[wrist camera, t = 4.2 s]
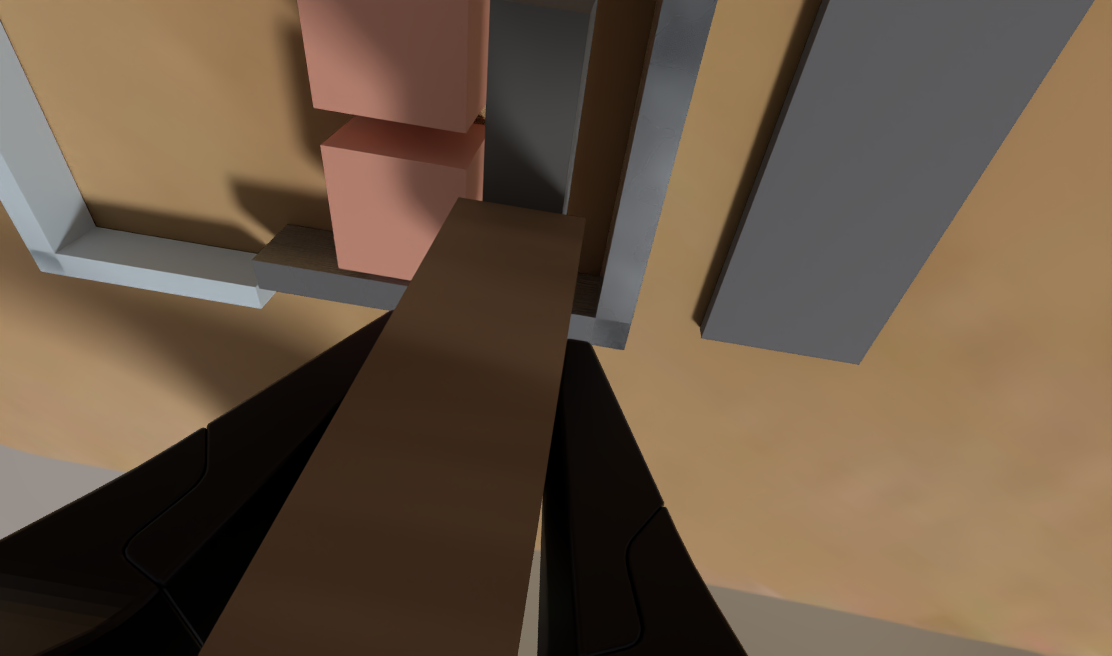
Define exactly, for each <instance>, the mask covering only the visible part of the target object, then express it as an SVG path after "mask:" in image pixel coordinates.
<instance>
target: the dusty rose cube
mask: <svg viewBox="0 0 1112 656" xmlns="http://www.w3.org/2000/svg"><path fill="white" fill-rule="evenodd" d="M297 3H298V9H299V16H300V22H301V29H302V35H303V42H304V48H305V55H306V62H307V68H308V75H309V81H310V88H311V94H312V101H313V107H314V108H318V109H323V110H329V111H335V112H341V113H347V114H353V115H359V116H365V117H371V118H377V119H383V120H389V121H395V122H401V123H407V124H412V125H418V126H424V127H430V128H436V129H442V130H448V131H454V132H460V133H467V131H468V130H469V128H470V127H471V125H472V124H473V122H474V121H475V119H476V118H477V116H478V115H479V113H480V112H481V110H482V109H483V107H484V106H485V104H486V92H487V66H488V40H489V13H490V0H297Z"/></svg>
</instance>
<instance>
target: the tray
mask: <svg viewBox="0 0 1112 656" xmlns="http://www.w3.org/2000/svg"><path fill="white" fill-rule="evenodd" d="M0 200H1V202H2V204H3V206H4V207H5V209H6V211H7V213H8V215H9V216H10V218H11V220H12V222H13V223H14V225H15V227H16V229H17V230H18V232H19V234H20V236H21V237H22V239H23V241H24V243H25V244H26V246H27V248H28V250H29V251H30V253H31V255H32V257H33V258H34V260H35V262H36V264H37V265H38V267H39V269H40V271H41V272H47V273H53V274H58V275H64V276H70V277H76V278H82V279H88V280H94V281H100V282H106V283H112V284H117V285H123V286H129V287H135V288H141V289H147V290H153V291H159V292H165V293H171V294H177V295H182V296H188V297H194V298H200V299H206V300H212V301H218V302H224V303H230V304H236V305H241V306H247V307H253V308H259V309H262V308H263V306H264V305H265V304H266V303H267V302H268V301H269V300H270V298H271V297H272V296H273V295H274V294H275V293H276V291H270V290H264V289H259V286H258V283H257V279H256V275H255V272H254V268H253V264H252V261H251V260H252V259H253V258H254V257H255V256H256V255H257V254H255V253H249V252H243V251H237V250H231V249H225V248H219V247H213V246H207V245H201V244H195V243H189V242H183V241H177V240H171V239H165V238H160V237H154V236H148V235H142V234H136V233H130V232H124V231H118V230H112V229H106V228H100V227H96V226H95V224H94V222H93V219H92V217H91V215H90V213H89V211H88V209H87V207H86V204H85V202H84V200H83V198H82V196H81V194H80V191H79V189H78V187H77V185H76V183H75V181H74V179H73V176H72V174H71V172H70V170H69V168H68V166H67V164H66V161H65V159H64V157H63V155H62V153H61V151H60V148H59V146H58V144H57V142H56V140H55V138H54V136H53V133H52V131H51V129H50V127H49V125H48V123H47V120H46V118H45V116H44V114H43V112H42V110H41V108H40V105H39V103H38V101H37V99H36V97H35V95H34V92H33V90H32V88H31V86H30V84H29V82H28V80H27V77H26V75H25V73H24V71H23V69H22V67H21V65H20V62H19V60H18V58H17V56H16V54H15V52H14V49H13V47H12V45H11V43H10V41H9V39H8V37H7V34H6V32H5V30H4V28H3V26H2V24H1V21H0Z"/></svg>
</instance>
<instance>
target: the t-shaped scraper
mask: <svg viewBox="0 0 1112 656" xmlns="http://www.w3.org/2000/svg"><path fill="white" fill-rule="evenodd" d="M597 3H598V0H490V13H489V40H488V66H487V92H486V118H485V144H484V171H483V197H482V201H479V200H473V199H467V198H461V197H458V199H457V201H456V202H455V204H454V206H453V208H452V209H451V211H450V213H449V215H448V216H447V218H446V220H445V222H444V223H443V225H442V227H441V229H440V230H439V232H438V234H437V236H436V237H435V239H434V241H433V243H432V244H431V246H430V248H429V250H428V252H427V253H426V255H425V257H424V259H423V260H422V262H421V264H420V266H419V267H418V269H417V271H416V273H415V274H414V276H413V278H412V280H411V281H410V283H409V285H408V287H407V288H406V290H405V292H404V294H403V295H402V297H401V299H400V301H399V302H398V304H397V306H396V308H395V310H394V311H393V313H392V315H391V317H390V318H389V320H388V322H387V324H386V325H385V327H384V329H383V331H382V332H381V334H380V336H379V338H378V339H377V341H376V343H375V345H374V346H373V348H372V350H371V352H370V353H369V355H368V357H367V359H366V361H365V362H364V364H363V366H362V368H361V369H360V371H359V373H358V375H357V376H356V378H355V380H354V382H353V383H352V385H351V387H350V389H349V390H348V392H347V394H346V396H345V397H344V399H343V401H342V403H341V404H340V406H339V408H338V410H337V412H336V413H335V415H334V417H333V419H332V420H331V422H330V424H329V426H328V427H327V429H326V431H325V433H324V434H323V436H322V438H321V440H320V441H319V443H318V445H317V447H316V448H315V450H314V452H313V454H312V455H311V457H310V459H309V461H308V462H307V464H306V466H305V468H304V470H303V471H302V473H301V475H300V477H299V478H298V480H297V482H296V484H295V485H294V487H293V489H292V491H291V492H290V494H289V496H288V498H287V499H286V501H285V503H284V505H283V506H282V508H281V510H280V512H279V513H278V515H277V517H276V519H275V521H274V522H273V524H272V526H271V528H270V529H269V531H268V533H267V535H266V536H265V538H264V540H263V542H262V543H261V545H260V547H259V549H258V550H257V552H256V554H255V556H254V557H253V559H252V561H251V563H250V564H249V566H248V568H247V570H246V572H245V573H244V575H243V577H242V579H241V580H240V582H239V584H238V586H237V587H236V589H235V591H234V593H233V594H232V596H231V598H230V600H229V601H228V603H227V605H226V607H225V608H224V610H223V612H222V614H221V615H220V617H219V619H218V621H217V623H216V624H215V626H214V628H213V630H212V631H211V633H210V635H209V637H208V638H207V640H206V642H205V644H204V645H203V647H202V649H201V651H200V652H199V654H198V656H518V649H519V643H520V636H521V630H522V624H523V617H524V611H525V604H526V598H527V592H528V585H529V578H530V573H531V566H532V560H533V554H534V547H535V541H536V535H537V528H538V522H539V515H540V509H541V503H542V496H543V490H544V484H545V477H546V471H547V464H548V458H549V452H550V445H551V439H552V433H553V426H554V420H555V413H556V407H557V401H558V394H559V388H560V382H561V375H562V369H563V363H564V356H565V350H566V343H567V337H568V331H569V324H570V318H571V312H572V305H573V299H574V292H575V286H576V280H577V273H578V267H579V261H580V254H581V248H582V241H583V235H584V229H585V222H586V218H583V217H577V216H571V215H567V208H568V201H569V194H570V188H571V181H572V174H573V167H574V160H575V153H576V146H577V140H578V133H579V126H580V119H581V112H582V105H583V99H584V92H585V85H586V78H587V71H588V64H589V58H590V51H591V44H592V37H593V30H594V23H595V16H596V10H597Z"/></svg>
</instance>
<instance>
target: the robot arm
mask: <svg viewBox="0 0 1112 656" xmlns="http://www.w3.org/2000/svg"><path fill="white" fill-rule="evenodd" d="M394 310H395V309H394ZM394 310H391V311H389V312H387V313H385V314H384V315H382V316H381V317H379V318H377V319H376V320H374V321H373V322H371V323H369V324H368V325H366V326H365V327H363V328H361V329H360V330H358V331H357V332H355V333H353V334H352V335H350V336H349V337H347V338H345V339H344V340H342V341H340V342H339V343H337V344H336V345H334V346H332V347H331V348H329V349H328V350H326V351H324V352H323V353H321V354H320V355H318V356H316V357H315V358H313V359H312V360H310V361H308V362H307V363H305V364H304V365H302V366H300V367H299V368H297V369H296V370H294V371H292V372H291V373H289V374H288V375H286V376H284V377H283V378H281V379H280V380H278V381H276V382H275V383H273V384H271V385H270V386H268V387H267V388H265V389H263V390H262V391H260V392H259V393H257V394H255V395H254V396H252V397H251V398H249V399H247V400H246V401H244V402H243V403H241V404H239V405H238V406H236V407H235V408H233V409H231V410H230V411H228V412H227V413H225V414H223V415H222V416H220V417H219V418H217V419H215V420H214V421H212V422H210V423H209V424H208V425H207V429H206V428H201V429H199V430H197V431H196V432H194V433H192V434H191V435H189V436H188V437H186V438H184V439H183V440H181V441H180V442H178V443H176V444H175V445H173V446H171V447H170V448H168V449H166V450H165V451H163V452H161V453H160V454H158V455H156V456H155V457H153V458H151V459H150V460H148V461H146V462H144V463H143V464H141V465H139V466H138V467H136V468H134V469H132V470H130V471H129V472H127V473H125V474H123V475H121V476H120V477H118V478H116V479H114V480H112V481H110V482H109V483H107V484H105V485H103V486H101V487H99V488H98V489H96V490H94V491H92V492H90V493H88V494H86V495H85V496H83V497H81V498H79V499H77V500H75V501H73V502H71V503H70V504H67V505H65V506H64V507H62V508H60V509H58V510H56V511H54V512H52V513H51V514H48V515H46V516H45V517H43V518H41V519H39V520H37V521H35V522H33V523H31V524H29V525H28V526H26V527H24V528H22V529H20V530H18V531H16V532H14V533H12V534H10V535H8V536H7V537H5V538H3V539H1V540H0V656H198V654H199V652H200V651H201V649H202V647H203V645H204V644H205V642H206V640H207V638H208V637H209V635H210V633H211V631H212V630H213V628H214V626H215V624H216V623H217V621H218V619H219V617H220V615H221V614H222V612H223V610H224V608H225V607H226V605H227V603H228V601H229V600H230V598H231V596H232V594H233V593H234V591H235V589H236V587H237V586H238V584H239V582H240V580H241V579H242V577H243V575H244V573H245V572H246V570H247V568H248V566H249V564H250V563H251V561H252V559H253V557H254V556H255V554H256V552H257V550H258V549H259V547H260V545H261V543H262V542H263V540H264V538H265V536H266V535H267V533H268V531H269V529H270V528H271V526H272V524H273V522H274V521H275V519H276V517H277V515H278V513H279V512H280V510H281V508H282V506H283V505H284V503H285V501H286V499H287V498H288V496H289V494H290V492H291V491H292V489H293V487H294V485H295V484H296V482H297V480H298V478H299V477H300V475H301V473H302V471H303V470H304V468H305V466H306V464H307V462H308V461H309V459H310V457H311V455H312V454H313V452H314V450H315V448H316V447H317V445H318V443H319V441H320V440H321V438H322V436H323V434H324V433H325V431H326V429H327V427H328V426H329V424H330V422H331V420H332V419H333V417H334V415H335V413H336V412H337V410H338V408H339V406H340V404H341V403H342V401H343V399H344V397H345V396H346V394H347V392H348V390H349V389H350V387H351V385H352V383H353V382H354V380H355V378H356V376H357V375H358V373H359V371H360V369H361V368H362V366H363V364H364V362H365V361H366V359H367V357H368V355H369V353H370V352H371V350H372V348H373V346H374V345H375V343H376V341H377V339H378V338H379V336H380V334H381V332H382V331H383V329H384V327H385V325H386V324H387V322H388V320H389V318H390V317H391V315H392V313H393V311H394ZM663 506H664V501H663V499H662V497H661V495H660V493H659V490H658V488H657V486H656V484H655V482H654V479H653V477H652V475H651V473H650V471H649V469H648V466H647V464H646V462H645V460H644V458H643V456H642V453H641V451H640V449H639V447H638V445H637V442H636V440H635V438H634V436H633V434H632V432H631V429H630V427H629V425H628V423H627V421H626V419H625V416H624V414H623V412H622V410H621V408H620V405H619V403H618V401H617V399H616V397H615V395H614V392H613V390H612V388H611V386H610V384H609V382H608V379H607V377H606V375H605V373H604V371H603V368H602V366H601V364H600V362H599V360H598V358H597V355H596V353H595V351H594V349H593V347H592V345H591V343H589V342H587V341H582V340H576V339H567V343H566V350H565V356H564V363H563V369H562V375H561V382H560V388H559V394H558V401H557V407H556V413H555V420H554V426H553V433H552V439H551V445H550V452H549V458H548V464H547V471H546V477H545V484H544V490H543V501H542V531H541V562H540V590H539V591H540V592H539V620H538V651H537V656H748V655H747V653H746V651H745V650H744V648H743V646H742V645H741V643H740V641H739V640H738V638H737V637H736V635H735V633H734V632H733V630H732V628H731V627H730V625H729V623H728V622H727V620H726V618H725V617H724V615H723V613H722V612H721V610H720V608H719V607H718V605H717V604H716V602H715V600H714V598H713V597H712V595H711V593H710V591H709V590H708V588H707V586H706V584H705V583H704V581H703V579H702V577H701V576H700V574H699V572H698V570H697V569H696V567H695V565H694V563H693V561H692V559H691V557H690V555H689V553H688V551H687V549H686V547H685V545H684V543H683V541H682V539H681V537H680V535H679V533H678V531H677V529H676V527H675V525H674V523H673V520H672V518H671V516H670V514H669V512H668V509H667V508H666V507H663Z"/></svg>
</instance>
